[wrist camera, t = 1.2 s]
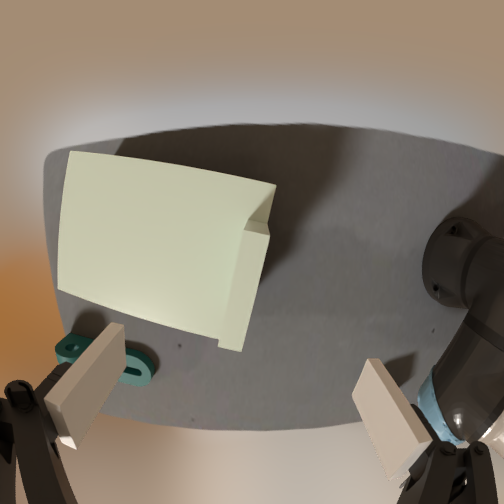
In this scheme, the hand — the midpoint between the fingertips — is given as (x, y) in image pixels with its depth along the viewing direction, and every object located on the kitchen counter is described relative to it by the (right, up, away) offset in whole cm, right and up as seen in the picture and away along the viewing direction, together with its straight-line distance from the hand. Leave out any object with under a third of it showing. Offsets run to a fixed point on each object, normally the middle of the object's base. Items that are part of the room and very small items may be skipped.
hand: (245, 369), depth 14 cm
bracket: (-26, -14, +31) cm, 43 cm away
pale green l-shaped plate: (-11, +7, +18) cm, 23 cm away
